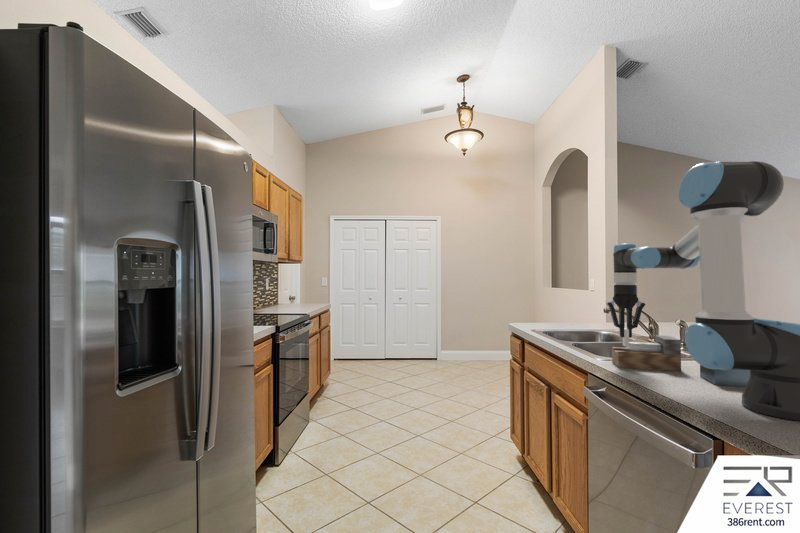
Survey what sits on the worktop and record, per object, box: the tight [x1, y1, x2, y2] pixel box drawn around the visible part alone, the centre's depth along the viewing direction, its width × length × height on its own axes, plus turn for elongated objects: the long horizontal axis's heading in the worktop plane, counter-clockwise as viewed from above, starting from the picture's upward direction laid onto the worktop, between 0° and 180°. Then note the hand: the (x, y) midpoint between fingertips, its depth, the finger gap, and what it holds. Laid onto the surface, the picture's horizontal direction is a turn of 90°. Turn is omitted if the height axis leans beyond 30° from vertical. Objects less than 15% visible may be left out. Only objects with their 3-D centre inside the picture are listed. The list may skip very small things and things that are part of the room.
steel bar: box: [626, 341, 663, 353], centre depth 141 cm, size 4×16×4 cm, turn 74°
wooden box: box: [611, 334, 682, 372], centre depth 142 cm, size 20×9×11 cm, turn 74°
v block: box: [699, 364, 750, 388], centre depth 122 cm, size 10×10×7 cm
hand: (625, 345), depth 144 cm, fingers closed
